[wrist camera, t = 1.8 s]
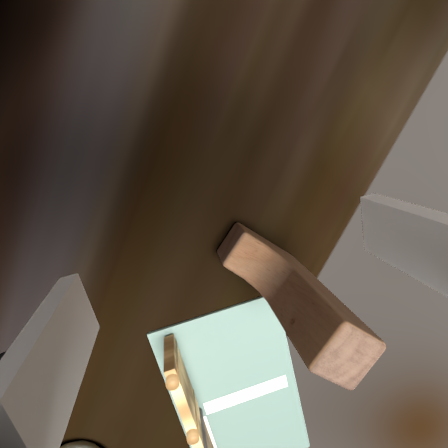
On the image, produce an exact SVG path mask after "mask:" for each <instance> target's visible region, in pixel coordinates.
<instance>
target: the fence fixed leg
mask: <svg viewBox="0 0 448 448" xmlns="http://www.w3.org/2000/svg"><path fill="white" fill-rule="evenodd" d="M199 411H200V420H201V428H202V436H203V444H204V448H214V447H213V444H212V441H211V438H210V435H209V432H208V430H207V427H206V424H205V421H204V418H203V411H202V409H201V408H199Z"/></svg>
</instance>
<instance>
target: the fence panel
mask: <svg viewBox="0 0 448 448" xmlns="http://www.w3.org/2000/svg"><path fill="white" fill-rule="evenodd" d="M164 375H165V377H166V388H167V389H168V390H170V391H171V393H172V396H173V398H174V401H175V404H176V406H177V409H178V411H179V414H180V417H181V419H182V422H183V425H184V427H185V430H186V434H187V443H188V444H190V445H191V446H192V448H204V444H203V436H202V428H201V420H200V411H199V405H198V402H197V400H196V397H195V394H194V389H193V388H192V385H191V383H190V380H189V377H188V374H187V371H186V368H185V366H184V363H183V360H182V357H181V354H180V351H179V349H178V346H177V341H176V340H175V337H174V334H172V335H169V336H166V337H164Z"/></svg>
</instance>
